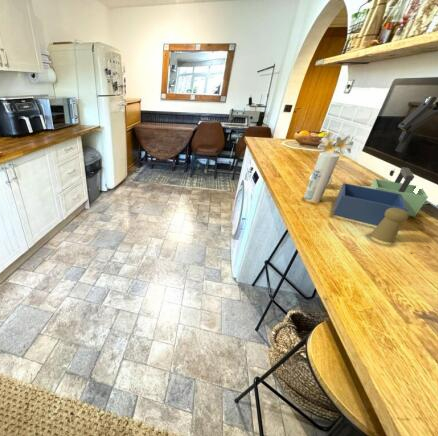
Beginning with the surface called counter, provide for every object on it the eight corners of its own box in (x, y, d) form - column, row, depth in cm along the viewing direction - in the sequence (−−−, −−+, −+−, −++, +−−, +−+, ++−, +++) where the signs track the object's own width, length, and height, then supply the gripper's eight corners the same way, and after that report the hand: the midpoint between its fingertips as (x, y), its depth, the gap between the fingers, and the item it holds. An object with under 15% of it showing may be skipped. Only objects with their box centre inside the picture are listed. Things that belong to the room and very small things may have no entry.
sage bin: (408, 206, 99) (430, 171, 91) (413, 218, 90) (439, 180, 83) (364, 197, 106) (382, 164, 99) (365, 207, 98) (384, 171, 90)
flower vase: (301, 189, 114) (320, 134, 101) (305, 178, 127) (324, 128, 114) (333, 196, 107) (359, 139, 94) (335, 184, 120) (358, 132, 107)
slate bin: (388, 214, 93) (401, 194, 88) (393, 232, 82) (407, 209, 78) (334, 202, 102) (343, 183, 97) (332, 216, 91) (342, 195, 87)
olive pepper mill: (373, 242, 77) (392, 212, 71) (366, 232, 82) (382, 203, 76) (397, 246, 75) (417, 216, 69) (388, 236, 80) (406, 207, 74)
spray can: (300, 196, 107) (317, 151, 97) (316, 197, 106) (334, 152, 96) (306, 202, 101) (324, 155, 91) (322, 204, 100) (343, 157, 90)
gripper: (427, 77, 66) (386, 153, 77) (538, 79, 62) (479, 159, 73) (407, 77, 73) (373, 147, 84) (508, 79, 69) (457, 152, 79)
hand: (422, 153), depth 78 cm, fingers open, 13 cm apart
